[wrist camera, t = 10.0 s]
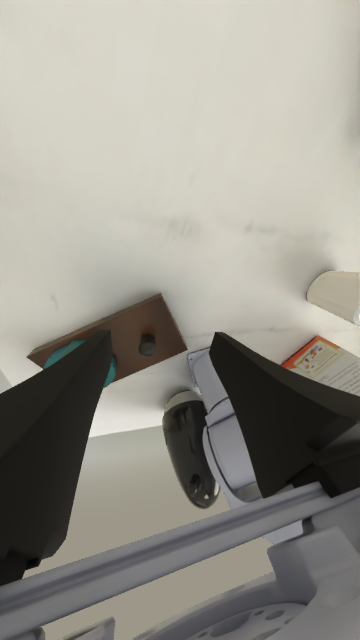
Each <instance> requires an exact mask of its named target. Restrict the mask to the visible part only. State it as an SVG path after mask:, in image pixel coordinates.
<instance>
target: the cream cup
mask: <svg viewBox="0 0 360 640" xmlns="http://www.w3.org/2000/svg"><path fill="white" fill-rule="evenodd" d="M307 300H308V302H310V303H312V304H314V305H316V306H318V307H320V308H322V309H324V310H326V311H328V312H330V313H333V314H335V315H337V316H339V317H341V318H343V319H345V320H347V321H349V322H351V323H353V324H355V325H357V326H360V273H357V272H344V271H327V272H325V273H323V274H321V275H320V276H318V277H317V278H316V279H315V280H314V281H313V283H312V284H311V285H310V287H309V289H308V291H307Z"/></svg>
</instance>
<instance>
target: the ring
mask: <svg viewBox="0 0 360 640" xmlns="http://www.w3.org/2000/svg"><path fill="white" fill-rule="evenodd" d="M85 341H86V340H73V341H72V342H71V343H70V344H69V345H66V346H64V347H62V348H59V349H57V350H55V352H53V353H52V354H51V356H50V357H49V358H48V360H47V362H46V364H45V366H44V369H46V368H47V367H49V366H50V365H52V364H54V363H55V362H57V361H58V360H59V359H61V358H62V357H64V356H65V355H67V354H68V353H70V352H71V351H73V350H74V349H75V348H77V347H78V346H79V345H81V344H82V343H83V342H85ZM116 371H117V366H116V361H115V359H114V358H113V357H112V362H111V366H110V370H109V373H108V376H107V379H106V382H105V384H104V387H103V388H105V387H107V386H108V385H109V384H110V383H111V382H112V380H113V379H114V378H115V376H116Z"/></svg>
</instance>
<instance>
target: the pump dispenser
mask: <svg viewBox="0 0 360 640" xmlns="http://www.w3.org/2000/svg"><path fill="white" fill-rule="evenodd" d="M207 415H208V413H207V410H206V407H205V404H204V401H203V398H202V396H201V395H199V394H198V393H196V392H192V391H184V392H180V393H178V394H176V395H175V396H173V397H172V398H171V399H170V400H169V402H168V403H167V405H166V408H165V411H164V416H163V419H162V424H163V431H164V436H165V441H166V445H167V449H168V452H169V455H170V459H171V462H172V465H173V468H174V471H175V474H176V476H177V479H178V481H179V484H180V486H181V488H182V490H183V492H184V493H185V495H186V497H187V498H188V500H189V501H190V502H191V504H193V505H194V506H195V507H197V508H200V509H208V508H210V507H211V506H213V505H214V503H215V502H216V500H217V499H218V497H219V494H220V489H221V487H220V486H219V485H218V483H217V482H216V480H215V478H214V476H213V474H212V472H211V469H210V467H209V464H208V461H207V458H206V455H205V451H204V447H203V430H204V427H205V426H206V425H207V422H206V419H205V416H207Z"/></svg>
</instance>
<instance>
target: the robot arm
mask: <svg viewBox="0 0 360 640" xmlns="http://www.w3.org/2000/svg"><path fill="white" fill-rule="evenodd" d="M112 357H113V350H112V340H111V330H99V331H97V332H96V333H95V334H94V335H92V336H91V337H90V338H88V339H87V340H86V341H85V342H83V343H82V344H81V345H79V346H78V347H77V348H75V349H74V350H73V351H71V352H70V353H68V354H67V355H65V356H64V357H62V358H61V359H59V360H58V361H57V362H55V363H54V364H52V365H50V366H49V367H47V368H46V369H44V370H42V371H41V372H39V373H37V374H36V375H34V376H32V377H31V378H29V379H27V380H25V381H24V382H22V383H20V384H18V385H16V386H14V387H12V388H10V389H9V390H7V391H5V392H3V393H1V394H0V640H45V632H44V630H43V629H42V627H40V626H43V625H45V624H48V623H50V622H53V621H55V620H58V619H60V618H63V617H65V616H68V615H70V614H72V613H75V612H77V611H80V610H82V609H85V608H87V607H90V606H92V605H94V604H97V603H99V602H102V601H104V600H106V599H109V598H112V597H114V596H116V595H119V594H121V593H124V592H126V591H129V590H131V589H134V588H136V587H138V586H141V585H143V584H146V583H148V582H151V581H153V580H155V579H158V578H160V577H163V576H165V575H168V574H170V573H173V572H175V571H178V570H180V569H182V568H185V567H187V566H190V565H192V564H195V563H197V562H200V561H202V560H204V559H207V558H209V557H212V556H214V555H217V554H219V553H221V552H224V551H227V550H229V549H231V548H234V547H236V546H239V545H241V544H244V543H246V542H248V541H251V540H253V539H256V538H258V537H261V536H262V537H263V538H265V539H267V540H268V541H270V542H271V543H272V544H274V545H273V546H271V547H270V548H268V549H267V554H268V556H269V559H270V562H271V564H272V567H273V569H274V571H273V572H271V573H269V574H266V575H264V576H261V577H259V578H257V579H254V580H252V581H250V582H247V583H245V584H243V585H240V586H238V587H235V588H233V589H231V590H229V591H226V592H224V593H221V594H219V595H217V596H215V597H212V598H210V599H208V600H206V601H203V602H201V603H199V604H197V605H195V606H193V607H191V608H189V609H187V610H185V611H182V612H180V613H178V614H176V615H174V616H173V617H171V618H169V619H167V620H165V621H163V622H161V623H159V624H157V625H156V626H154V627H152V628H150V629H148V630H146V631H145V632H143V633H141V634H139V635H137V636H135V637H134V638H132V639H130V640H360V396H357V395H354V394H351V393H348V392H345V391H342V390H339V389H336V388H333V387H330V386H327V385H325V384H322V383H319V382H317V381H314V380H312V379H309V378H307V377H304V376H302V375H300V374H297V373H295V372H293V371H290V370H288V369H286V368H284V367H282V366H280V365H278V364H276V363H274V362H272V361H270V360H268V359H266V358H265V357H263V356H261V355H259V354H258V353H256V352H254V351H253V350H251V349H249V348H248V347H246V346H245V345H243V344H241V343H240V342H238V341H237V340H235V339H234V338H232V337H230V336H229V335H227V334H225V333H223V332H215V335H214V338H213V341H212V344H211V347H210V348H209V349H205V350H202V351H198V352H195V353H191V354H189V355H188V356H187V357H188V362H189V366H190V370H191V375H192V379H193V383H194V387H199V390H200V393H201V395H202V398H203V401H204V404H205V407H206V410H207V413H208V415H207V416H205V419H206V422H207V425H206V426H205V427H204V430H203V447H204V451H205V455H206V458H207V461H208V464H209V467H210V469H211V472H212V474H213V476H214V478H215V480H216V482H217V483H218V485H219V486H220V487H221V489H222V491H223V493H224V495H225V497H226V499H227V501H228V504H229V506H230V508H231V510H229V511H226V512H223V513H220V514H217V515H214V516H211V517H208V518H205V519H202V520H199V521H196V522H193V523H190V524H187V525H184V526H181V527H178V528H175V529H172V530H169V531H165V532H162V533H159V534H156V535H153V536H150V537H147V538H144V539H141V540H139V541H135V542H132V543H129V544H126V545H123V546H120V547H117V548H114V549H111V550H108V551H105V552H102V553H99V554H96V555H93V556H90V557H87V558H84V559H81V560H78V561H75V562H72V563H69V564H66V565H63V566H60V567H57V568H54V569H51V570H48V571H45V572H42V573H39V574H36V575H33V576H30V577H27V578H24V579H22V577H23V574H24V572H25V570H28V569H31V568H34V567H37V566H39V564H40V562H41V560H42V559H45V558H48V557H51V556H53V555H54V554H55V553H56V551H57V550H58V549H59V547H60V546H61V545H62V543H63V542H64V540H65V539H66V535H67V530H68V525H69V520H70V515H71V511H72V506H73V501H74V496H75V492H76V487H77V483H78V478H79V474H80V470H81V465H82V461H83V457H84V453H85V448H86V444H87V440H88V436H89V432H90V428H91V424H92V420H93V417H94V413H95V410H96V407H97V404H98V401H99V398H100V395H101V393H102V390H103V387H104V384H105V382H106V379H107V376H108V373H109V370H110V366H111V362H112ZM190 358H191V359H190ZM114 628H115V620H114V618H113V617H110V618H107V619H105V620H102V621H100V622H97V623H94V624H92V625H89V626H86V627H84V628H82V629H79V630H77V631H75V632H73V633H71V634H68V635H66V636H64V637H63V638H61V639H59V640H113V639H114Z"/></svg>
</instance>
